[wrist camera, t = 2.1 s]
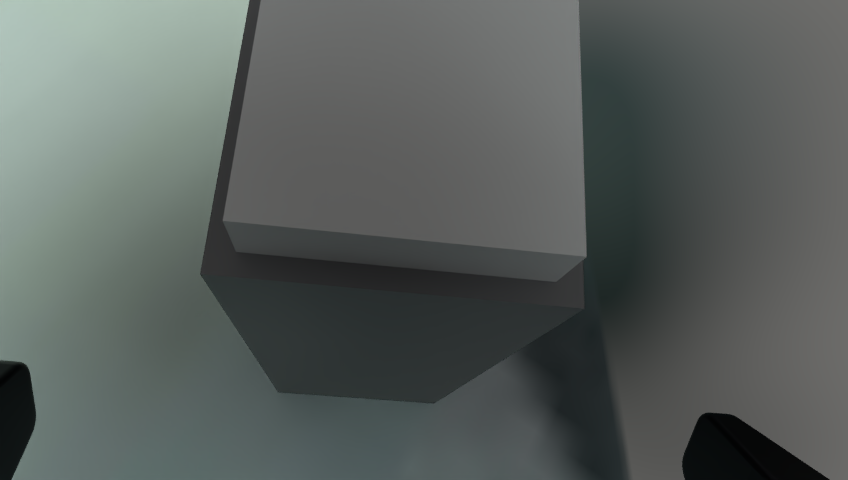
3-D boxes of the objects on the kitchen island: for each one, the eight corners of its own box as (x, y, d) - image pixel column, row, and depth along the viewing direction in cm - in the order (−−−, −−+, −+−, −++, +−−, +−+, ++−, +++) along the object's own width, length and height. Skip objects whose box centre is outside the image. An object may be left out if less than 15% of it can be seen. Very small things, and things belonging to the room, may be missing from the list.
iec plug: (434, 403, 19) (619, 286, 7) (278, 392, 19) (181, 245, 6) (440, 272, 20) (604, -18, 8) (295, 259, 20) (242, -71, 8)
